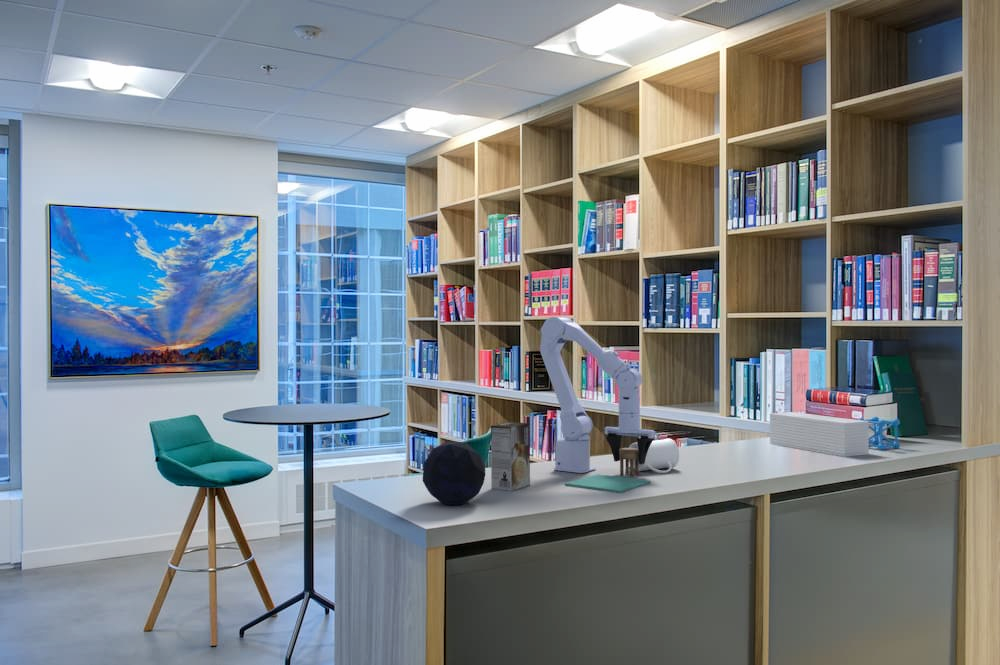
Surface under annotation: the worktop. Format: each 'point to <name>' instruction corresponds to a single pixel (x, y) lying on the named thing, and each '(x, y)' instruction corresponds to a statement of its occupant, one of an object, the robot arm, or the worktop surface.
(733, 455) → the worktop surface
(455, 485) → the decorative orb
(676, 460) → the mug
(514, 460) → the coffee box
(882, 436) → the molecular structure
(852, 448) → the stack of papers
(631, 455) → the walnut stool
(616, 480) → the teal mat
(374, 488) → the worktop surface
